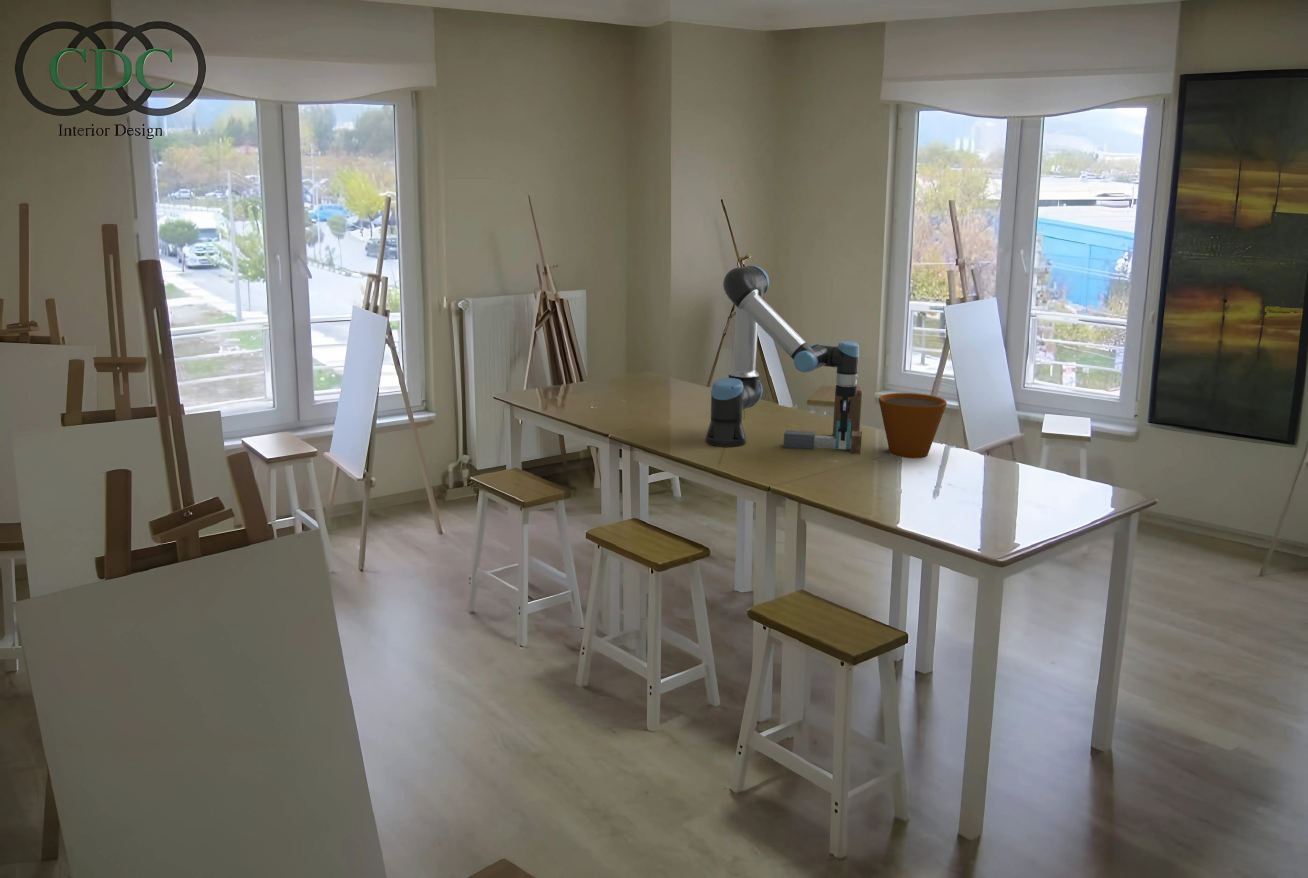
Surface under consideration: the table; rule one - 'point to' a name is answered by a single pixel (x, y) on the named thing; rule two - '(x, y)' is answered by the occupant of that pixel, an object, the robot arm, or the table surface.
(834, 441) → the teal square post
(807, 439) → the grey rectangular block
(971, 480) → the table surface
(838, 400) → the wooden block
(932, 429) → the flower pot
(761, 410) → the table surface
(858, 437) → the socket
